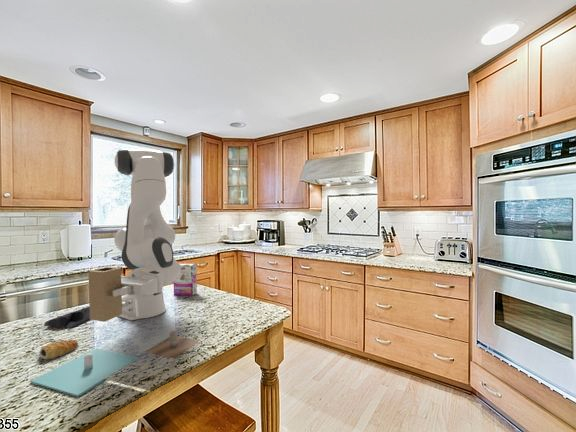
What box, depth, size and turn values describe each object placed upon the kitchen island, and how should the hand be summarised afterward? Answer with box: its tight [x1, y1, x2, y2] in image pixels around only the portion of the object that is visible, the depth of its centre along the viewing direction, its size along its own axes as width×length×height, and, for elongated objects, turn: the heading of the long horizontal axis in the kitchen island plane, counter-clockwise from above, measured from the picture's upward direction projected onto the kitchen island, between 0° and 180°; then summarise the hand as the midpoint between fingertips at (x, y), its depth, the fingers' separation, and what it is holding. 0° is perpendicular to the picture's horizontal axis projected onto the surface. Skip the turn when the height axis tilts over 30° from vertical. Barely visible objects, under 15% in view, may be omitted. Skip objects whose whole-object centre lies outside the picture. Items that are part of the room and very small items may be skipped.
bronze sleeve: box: [88, 266, 123, 323], centre depth 80 cm, size 6×6×14 cm
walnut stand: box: [144, 330, 200, 359], centre depth 91 cm, size 12×12×6 cm
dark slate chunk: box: [43, 306, 91, 329], centre depth 117 cm, size 15×22×5 cm
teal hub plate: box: [29, 347, 140, 398], centre depth 78 cm, size 18×18×5 cm
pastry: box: [39, 339, 79, 360], centre depth 88 cm, size 9×7×4 cm
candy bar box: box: [173, 263, 198, 297], centre depth 148 cm, size 11×5×16 cm, turn 80°
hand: (102, 292), depth 79 cm, fingers closed on bronze sleeve, 6 cm apart
